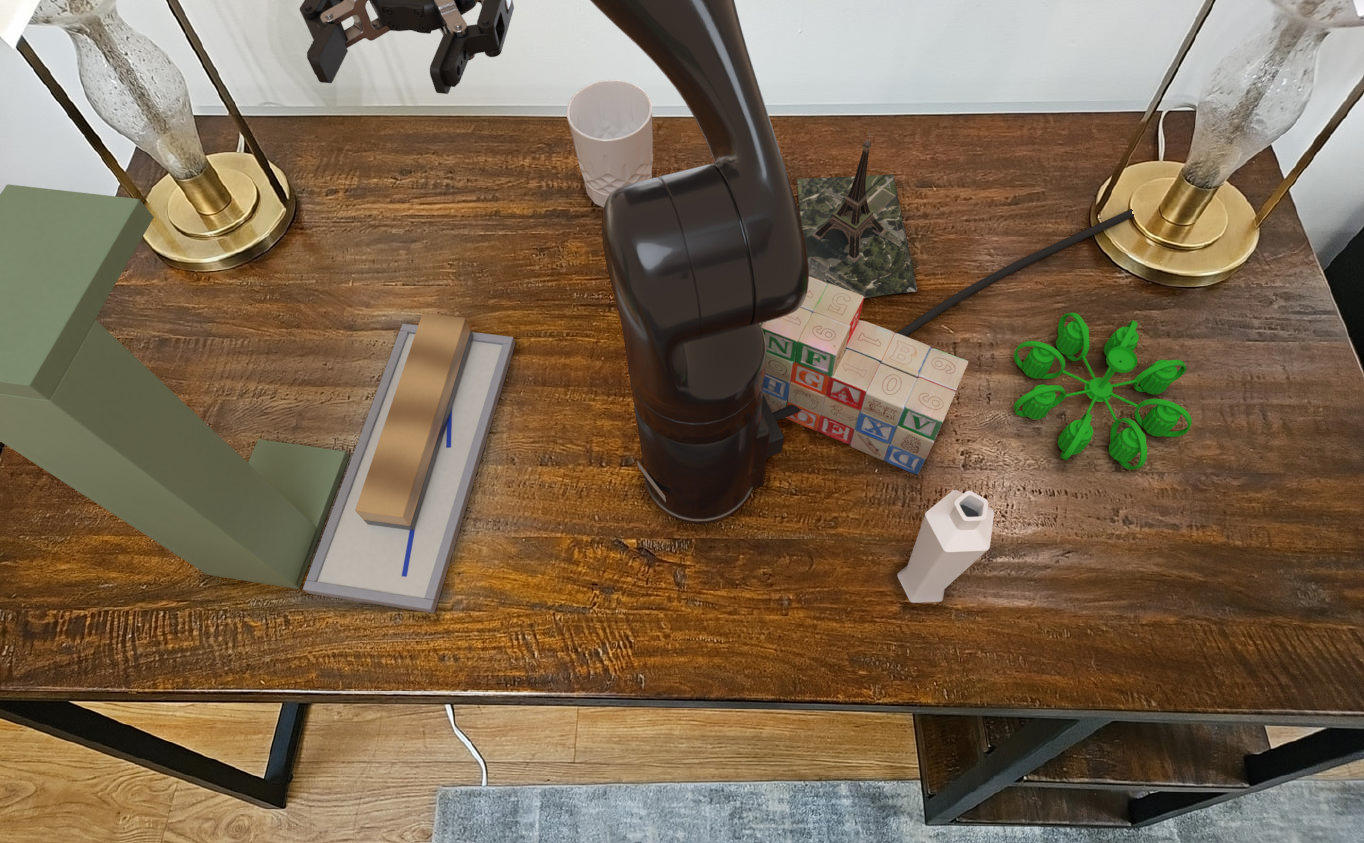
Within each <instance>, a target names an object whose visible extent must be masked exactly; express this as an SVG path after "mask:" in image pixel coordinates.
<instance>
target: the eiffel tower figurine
mask: <svg viewBox="0 0 1364 843" xmlns="http://www.w3.org/2000/svg"><path fill="white" fill-rule="evenodd" d="M870 135H871V131H869V132H868V137H867V139H866V140H865V141H864V142H862V143H863V144H862V146H861V147H862V151H861V155H860V159H859V162H858V166H857V168H856V172H855V174H854V176H853V175H852V176H833V177H832V176H831V177H810V178H809V177H808V178H797V179H796V184H797V196H798V197H797V198H798V207H799V208H798V209H799V216H800V220H801V224H802V229H803V233H804V237H805V243H806V248H807V256H808V267H809V277H812V278H815V279H818V280H821V281H823V282H825V283H827V284H833V285H835V286H838V287H841V288H843V289H846V290H849V291H852V292H854V293H857V294H860V295H862V296H864V299H870V298H874V297H881V296H887V295H895V294H903V293H905V294H906V293H915V292H918V290H919V289H918V285H917V281H916V280H917V279H916V276H915V271H914V267H913V261H912V257H911V251H910V247H909V242H908V238H907V233H906V228H905V224H904V220H903V214H902V210H901V205H900V202H899V200H900V198H899V196H898V191H897V190H898V189H897V186H896V181H895V177H894V176H895V175H894V174H877V175H875V174H874V175H867V173H868V163H869V154H870V148H872V142H871V141H870V140H869V139H870Z"/></svg>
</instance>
